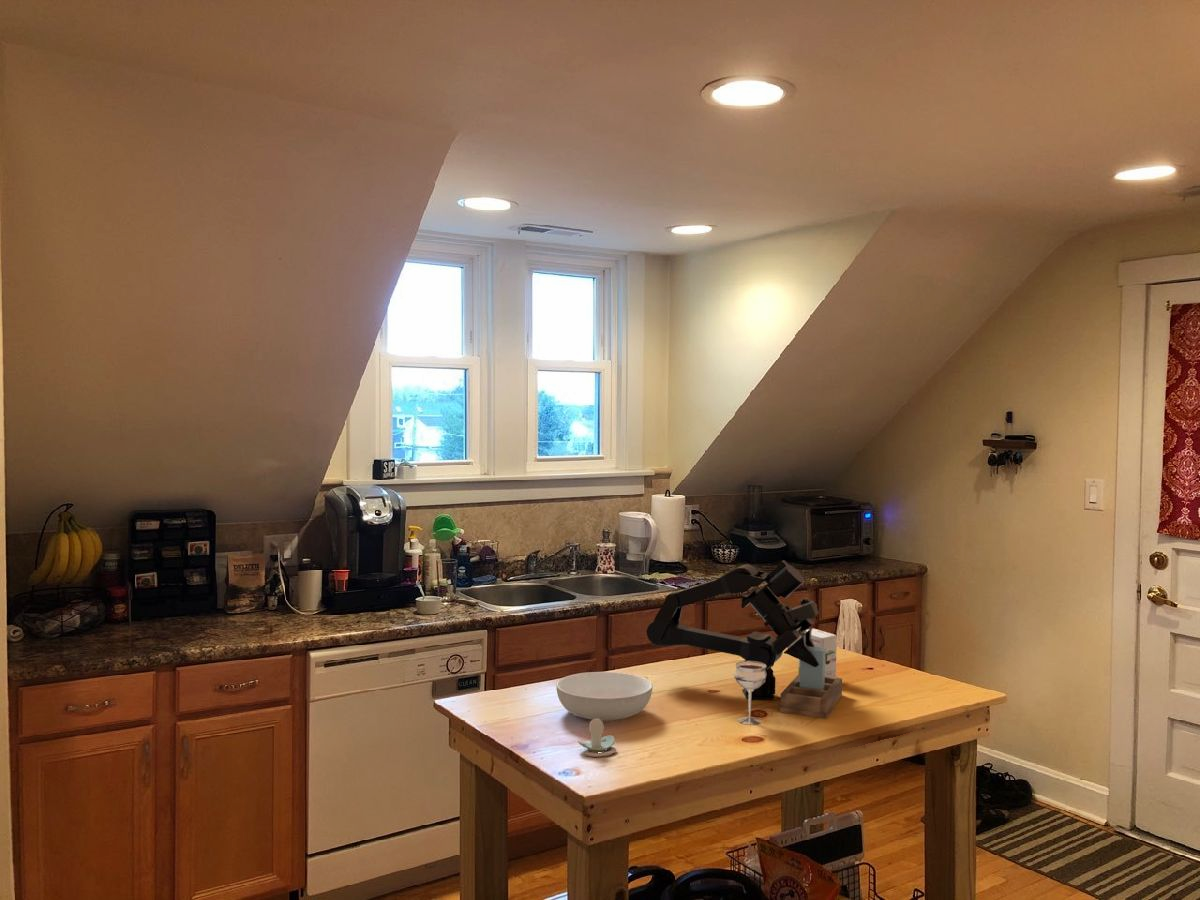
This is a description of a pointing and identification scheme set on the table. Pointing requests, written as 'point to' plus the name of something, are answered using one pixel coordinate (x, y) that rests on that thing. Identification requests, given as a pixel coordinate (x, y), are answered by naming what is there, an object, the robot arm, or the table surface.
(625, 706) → the serving bowl
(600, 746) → the pacifier
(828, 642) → the ink box
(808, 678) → the light blue block
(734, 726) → the table surface
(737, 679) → the wineglass
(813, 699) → the rack
